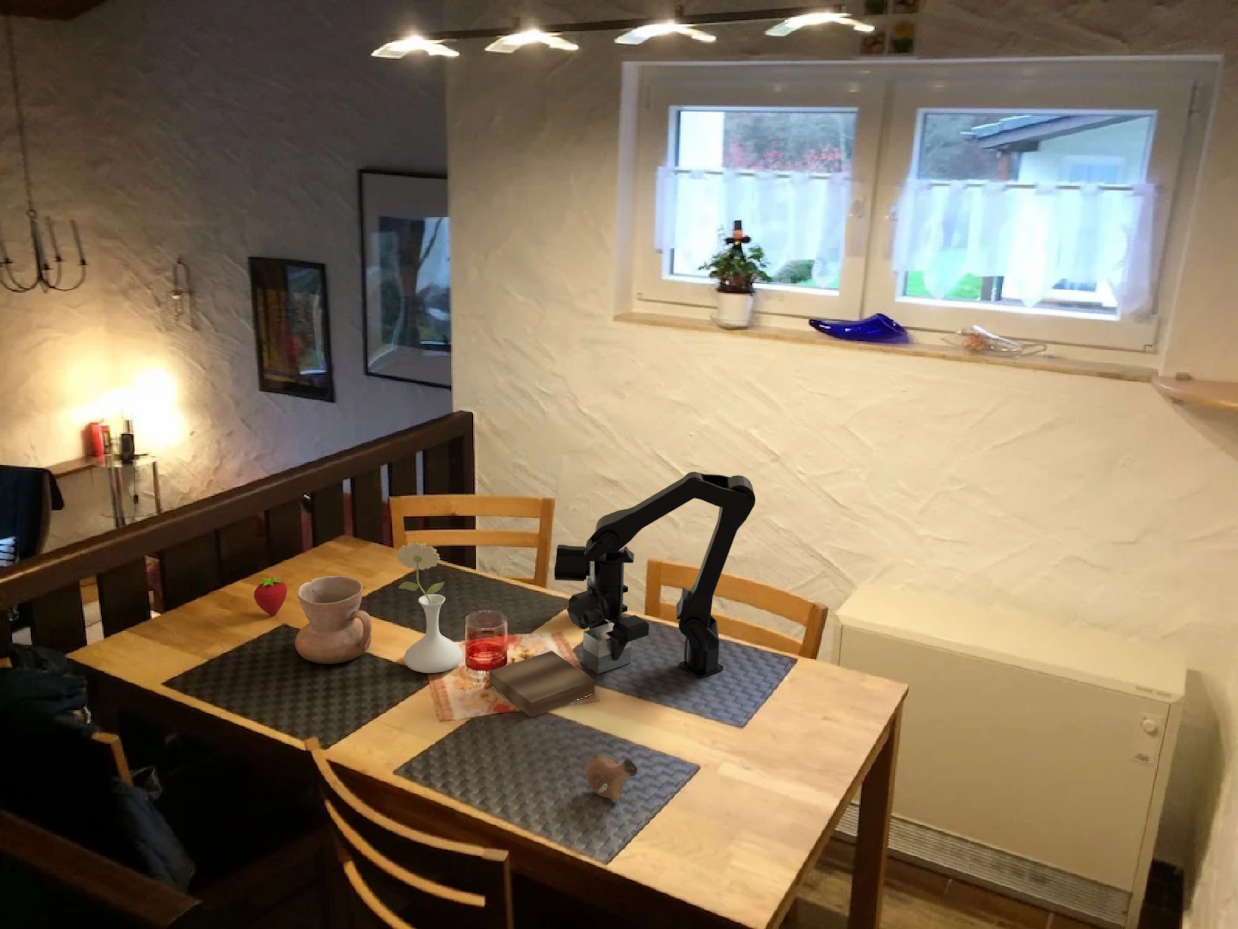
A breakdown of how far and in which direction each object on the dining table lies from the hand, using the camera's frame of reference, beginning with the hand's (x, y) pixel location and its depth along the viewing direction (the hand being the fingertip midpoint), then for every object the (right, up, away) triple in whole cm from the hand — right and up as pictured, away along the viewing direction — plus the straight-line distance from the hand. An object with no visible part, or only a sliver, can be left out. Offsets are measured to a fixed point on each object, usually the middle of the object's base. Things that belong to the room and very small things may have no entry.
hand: (607, 655), depth 201 cm
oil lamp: (+1, -15, -41) cm, 44 cm away
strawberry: (-71, +5, +17) cm, 74 cm away
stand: (-12, -5, -10) cm, 16 cm away
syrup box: (-2, +4, +21) cm, 22 cm away
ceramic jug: (-53, 0, +2) cm, 53 cm away
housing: (0, -2, +1) cm, 2 cm away
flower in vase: (-34, -2, -1) cm, 34 cm away
